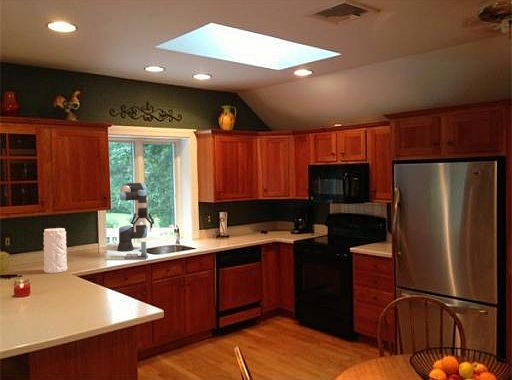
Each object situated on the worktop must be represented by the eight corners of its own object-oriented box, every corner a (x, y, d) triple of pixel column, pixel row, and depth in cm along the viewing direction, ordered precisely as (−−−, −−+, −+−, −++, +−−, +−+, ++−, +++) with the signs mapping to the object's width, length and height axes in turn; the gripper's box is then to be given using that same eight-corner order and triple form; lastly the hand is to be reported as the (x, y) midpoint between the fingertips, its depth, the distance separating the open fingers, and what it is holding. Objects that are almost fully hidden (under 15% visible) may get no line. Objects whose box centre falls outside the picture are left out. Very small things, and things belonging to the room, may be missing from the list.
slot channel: (127, 259, 386) (126, 255, 386) (147, 259, 386) (147, 255, 386) (124, 261, 377) (124, 257, 377) (145, 261, 377) (145, 257, 377)
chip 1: (127, 258, 383) (127, 253, 383) (132, 258, 383) (132, 253, 383) (126, 259, 379) (126, 254, 379) (130, 259, 379) (130, 254, 379)
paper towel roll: (43, 274, 330) (42, 231, 328) (43, 270, 344) (42, 228, 343) (68, 272, 337) (67, 229, 336) (67, 267, 352) (66, 227, 350)
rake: (142, 257, 395) (142, 241, 394) (146, 257, 395) (146, 241, 394) (141, 258, 390) (140, 242, 390) (145, 258, 390) (145, 242, 390)
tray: (109, 259, 387) (109, 255, 386) (127, 259, 387) (127, 255, 387) (105, 261, 376) (105, 258, 375) (123, 261, 376) (123, 258, 376)
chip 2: (133, 258, 383) (133, 253, 383) (137, 258, 383) (137, 253, 383) (132, 259, 379) (131, 254, 379) (136, 259, 379) (136, 254, 379)
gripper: (126, 208, 387) (127, 232, 387) (155, 207, 387) (156, 232, 387) (129, 207, 394) (129, 231, 395) (157, 207, 394) (157, 231, 395)
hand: (142, 231), depth 391 cm, fingers open, 13 cm apart
